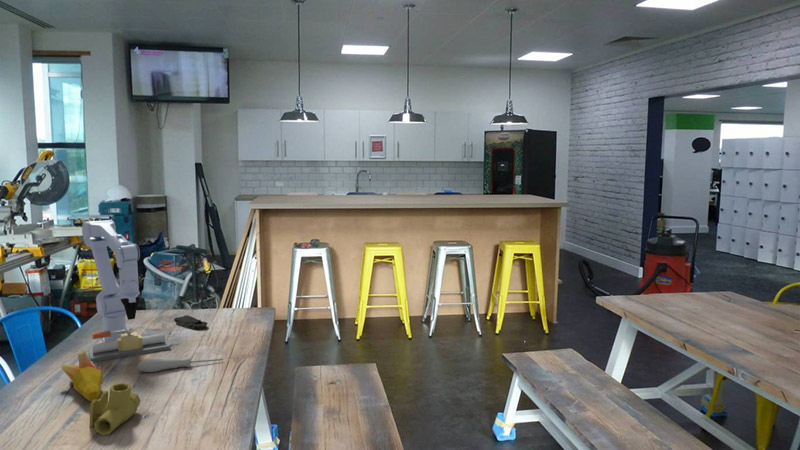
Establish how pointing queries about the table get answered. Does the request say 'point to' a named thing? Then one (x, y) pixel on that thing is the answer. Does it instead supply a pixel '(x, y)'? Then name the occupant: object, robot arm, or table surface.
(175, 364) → the screwdriver
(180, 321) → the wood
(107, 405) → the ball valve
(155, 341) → the valve stand
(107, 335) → the valve lever
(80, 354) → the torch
